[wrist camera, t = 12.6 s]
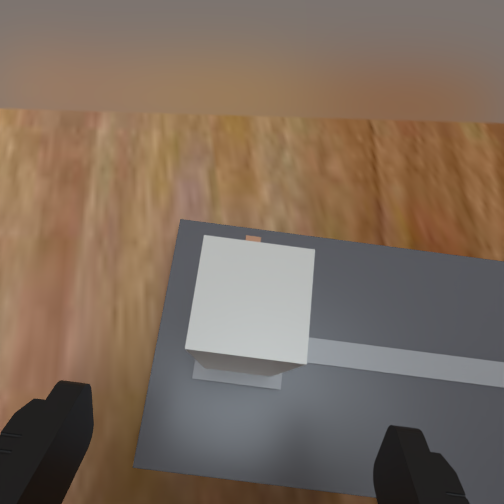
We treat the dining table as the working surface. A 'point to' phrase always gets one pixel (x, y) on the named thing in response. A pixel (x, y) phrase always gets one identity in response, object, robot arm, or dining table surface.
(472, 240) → the dining table surface
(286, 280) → the fader tab
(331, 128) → the dining table surface
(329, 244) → the console
